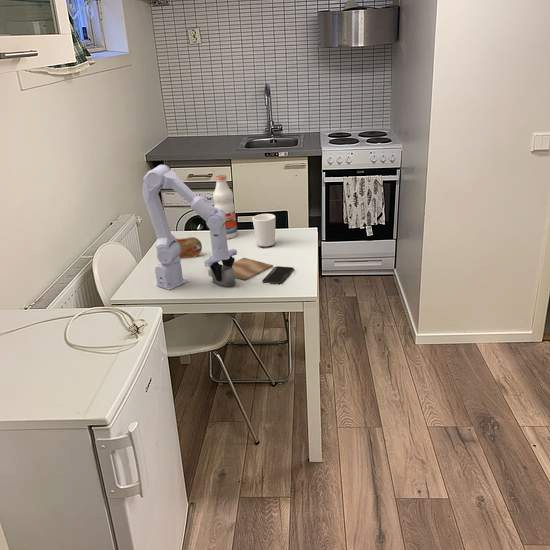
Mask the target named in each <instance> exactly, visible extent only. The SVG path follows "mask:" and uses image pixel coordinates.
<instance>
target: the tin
mask: <svg viewBox="0 0 550 550" xmlns="http://www.w3.org/2000/svg"><path fill="white" fill-rule="evenodd" d="M176 240H177V242H178V243H179V244H180V246H181V252H180V254H179V257H180V260H181V259H190V258H196V257H198V256H200V254H201V253H202V250H203V249H202V248H203V245H202V242H201V241H200V240H199V239H198V238H197V237H193V236H191V237H183V238H182V237H180V238H176Z"/></svg>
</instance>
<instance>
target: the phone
mask: <svg viewBox="0 0 550 550" xmlns="http://www.w3.org/2000/svg"><path fill="white" fill-rule="evenodd" d="M294 271H295V268H294V267H291V266H279V265H277V266H275V267H274V268H272V270H271V271H270V272H269V273H268V274H267V275H266V276H265V277H264V278H263V279H262V281H261V283H262V282H263V283H262V284H264V283H270V284H269V285H276V284H278V285H277V286H279V285H280V284H281V285H282V284H283V283H284V282H286V280H287V279H288V278H289V277H290V275H292V273H293V272H294Z"/></svg>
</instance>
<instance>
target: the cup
mask: <svg viewBox="0 0 550 550" xmlns="http://www.w3.org/2000/svg"><path fill="white" fill-rule="evenodd" d="M276 219H277V218H276V215H275V214H273V213H261V214H257V215H254V216H252V223H253V224H252V225H253V230H254V235H255V239H256V244H257V246H258V247H259V248H266V249H268V248H269V247H274V245H275V243H276Z"/></svg>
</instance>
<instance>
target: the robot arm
mask: <svg viewBox="0 0 550 550" xmlns="http://www.w3.org/2000/svg"><path fill="white" fill-rule="evenodd" d="M142 180H143V184H142V189H141V190H142V191H141V194H142V197H143V200H144V203H145V207H146V210H147V212H148V214H149V219H150V221H151V224H152V226H153V230H154V232H155V236H156V245H155V247H156V258H157V260H158V262H159V263H160V264H159V265H158V264H157V266H156V267H155V269H154V273H155V279H156V286H157V287H159V288H162V289H164V290H169V291H171V290H172V289H175V288H177V287H179V286H180V285H183V284H186V283H188V282H189V280H188V279H186V278H184V277H183V275H184V274H183V269H182V262H181V259H180V257H179V254H180V252H181V246H180V244H179V243H178V242H177V240H176V239H177V238H176V236H175V235H174V234H172V232H171V228H170V225H169V223H168V220H167V216H166V213H165V210H164V207H163V204H162V201H161V198H160V195H159V193H160V191H161V189H164V190H165V189H166V190H173V191H174V192H175V193H177V194H178V195H179V196H181V197H182V198H184V200H185V201H187V202H189V204H190V208H191V209H192V211H194V212H195V214H197V215H198V216H199V217H201V219H203V220H204V221H205V224H206V226H207V228H208V229H209V236H210V243H211V252H212V255H211V256H210V257H209V258H207V260H204V261H203V262H204V267H207V268H211V270H212V271H213V273H214V275H215V278H216V280H217V281H222V276H221V270H222V265H225V266H228V267H232V266H233V263H234V262H236V260H235V257H233V256H237V255H238V251H237V249H234V248H232V249H231V248H230V249H229V247H228V239H227V236H226V229H225V224H224V223H225V221H226V215H225V213H224V212H223V211H222V210H220V209H217V208H215V207H214V205H213V204H212V203H211V202H209V201H208V200H209V199H208V198H207V197H206V196H205V197H204V196H202V195H196V194H195V193H194V191H193V190H192V189H190V188H189V187H188V186H187V184H185V182H184V181H182V180H181V178H179V177H178V175H177V174H176V172H175V171H174V170H172V169H170V167H169V166H168V165H166V164H159V165H157V166H156V167H154V168H152V169H150V170H148V171H147V172H146V174H145V175H144V177H143V178H142ZM223 224H224V225H223ZM220 262H221V263H222V264H221V263H220ZM220 264H221V265H220Z"/></svg>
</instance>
